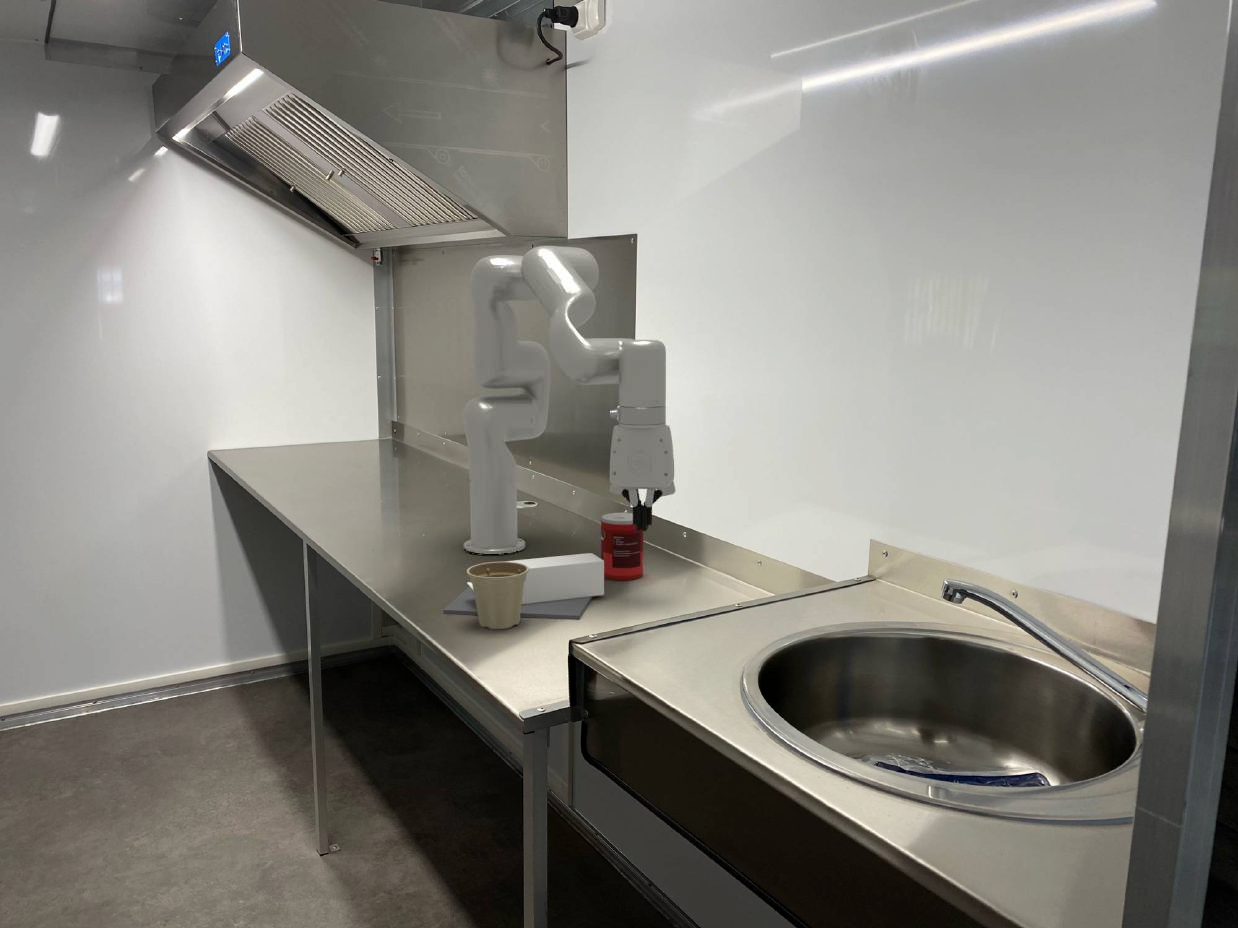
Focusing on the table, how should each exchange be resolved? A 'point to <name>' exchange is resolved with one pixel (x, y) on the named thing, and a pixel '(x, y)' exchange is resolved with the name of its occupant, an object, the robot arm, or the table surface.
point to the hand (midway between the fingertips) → (642, 529)
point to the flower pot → (498, 592)
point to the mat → (525, 607)
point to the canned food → (621, 547)
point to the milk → (562, 578)
